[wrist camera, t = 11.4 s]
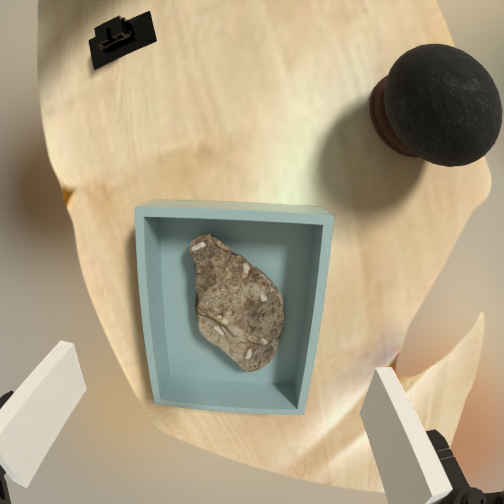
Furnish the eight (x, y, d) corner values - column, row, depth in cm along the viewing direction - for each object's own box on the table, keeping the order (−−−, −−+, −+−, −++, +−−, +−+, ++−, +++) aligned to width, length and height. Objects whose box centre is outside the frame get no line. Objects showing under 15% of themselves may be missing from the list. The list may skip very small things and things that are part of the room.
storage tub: (154, 199, 36) (134, 206, 30) (321, 206, 36) (333, 215, 30) (166, 375, 43) (154, 403, 37) (299, 384, 43) (303, 414, 37)
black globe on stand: (341, 96, 33) (388, 58, 18) (411, 51, 30) (474, 11, 16) (402, 184, 35) (473, 199, 21) (465, 133, 33) (540, 129, 18)
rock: (313, 325, 39) (318, 340, 36) (250, 368, 41) (249, 384, 38) (217, 216, 36) (213, 221, 32) (155, 272, 38) (145, 282, 35)
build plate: (87, 81, 33) (69, 74, 28) (80, 41, 31) (64, 31, 27) (170, 43, 32) (160, 30, 27) (160, 3, 30) (149, -12, 25)
